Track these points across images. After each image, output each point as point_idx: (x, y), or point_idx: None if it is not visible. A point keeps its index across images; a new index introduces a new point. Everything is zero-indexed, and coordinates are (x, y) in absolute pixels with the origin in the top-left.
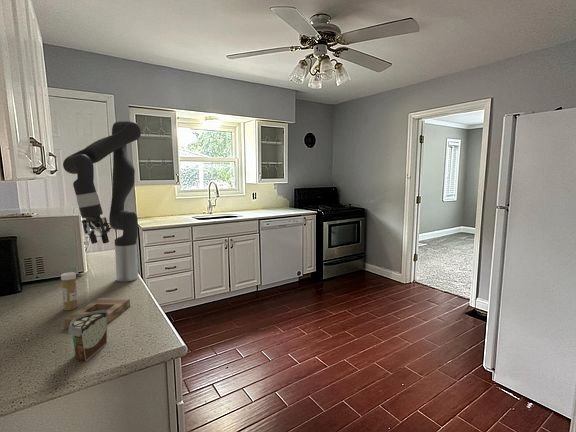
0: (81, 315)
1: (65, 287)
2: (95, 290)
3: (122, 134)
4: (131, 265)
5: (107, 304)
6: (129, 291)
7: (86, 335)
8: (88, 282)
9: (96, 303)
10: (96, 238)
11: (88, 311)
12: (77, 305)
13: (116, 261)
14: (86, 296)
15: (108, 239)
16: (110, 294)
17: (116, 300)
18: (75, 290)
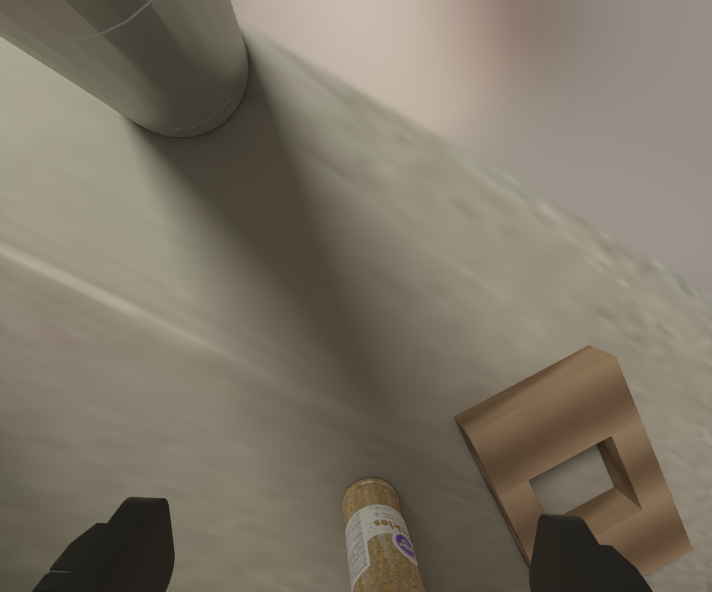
0: None
1: None
2: (222, 314)
3: None
4: (225, 20)
5: (577, 452)
6: (411, 219)
7: None
8: (18, 254)
9: (524, 476)
10: (122, 564)
11: None
12: (389, 487)
13: (93, 86)
14: (277, 390)
15: (642, 576)
16: (361, 305)
17: (575, 405)
18: (413, 553)
